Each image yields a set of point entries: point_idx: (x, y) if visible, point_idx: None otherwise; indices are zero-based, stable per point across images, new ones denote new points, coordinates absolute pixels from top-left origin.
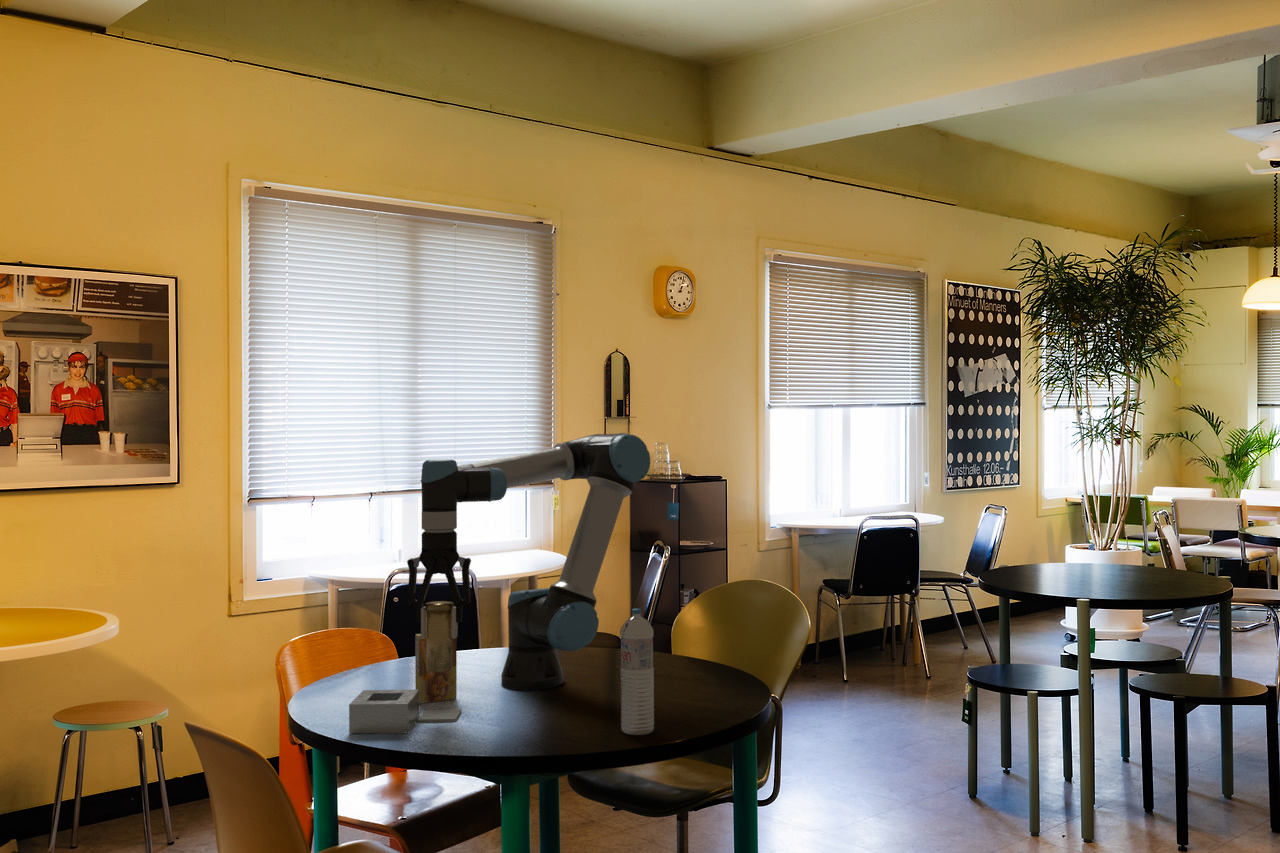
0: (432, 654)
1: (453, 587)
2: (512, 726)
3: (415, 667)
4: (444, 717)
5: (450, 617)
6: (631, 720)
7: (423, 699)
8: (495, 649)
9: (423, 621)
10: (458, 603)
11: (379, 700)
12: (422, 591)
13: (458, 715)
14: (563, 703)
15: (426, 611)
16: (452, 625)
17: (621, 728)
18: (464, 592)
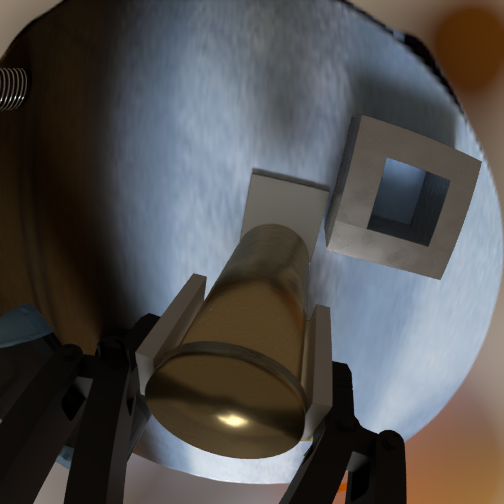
0: (290, 251)
1: (88, 452)
2: (150, 120)
3: None
4: (274, 192)
5: (182, 338)
6: (13, 68)
7: (307, 324)
8: (203, 475)
9: (320, 352)
10: (108, 365)
11: (412, 237)
12: (317, 496)
13: (246, 206)
14: (85, 247)
15: None
16: (186, 305)
17: (28, 83)
18: (47, 394)
